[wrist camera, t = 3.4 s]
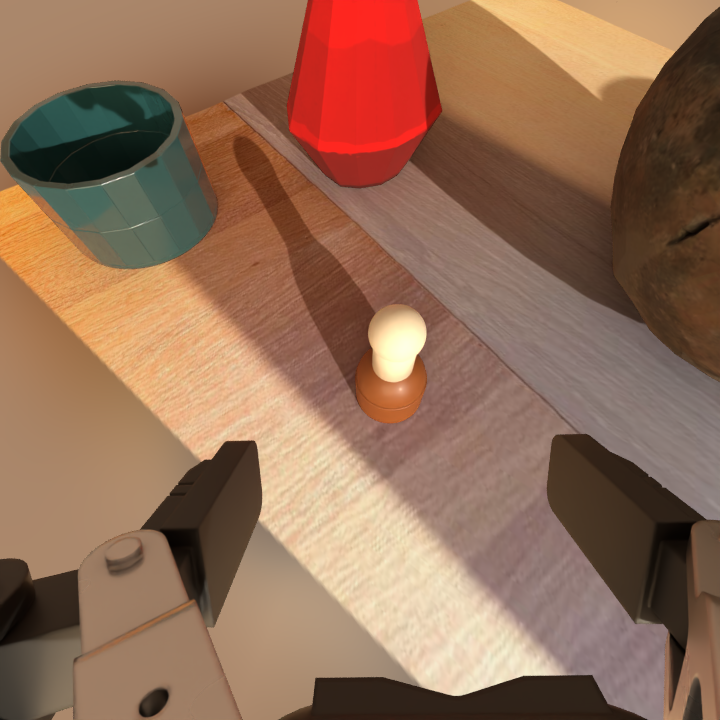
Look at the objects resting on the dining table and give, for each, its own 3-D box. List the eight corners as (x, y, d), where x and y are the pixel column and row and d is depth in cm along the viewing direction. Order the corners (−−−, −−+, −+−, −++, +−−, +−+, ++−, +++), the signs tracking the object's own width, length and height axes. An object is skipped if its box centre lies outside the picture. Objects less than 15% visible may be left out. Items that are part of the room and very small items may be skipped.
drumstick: (387, 437, 29) (398, 378, 20) (342, 389, 31) (332, 314, 21) (435, 394, 31) (466, 320, 21) (389, 351, 32) (400, 265, 23)
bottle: (323, 224, 39) (289, -54, 21) (277, 149, 45) (218, -122, 27) (456, 177, 42) (522, -102, 24) (396, 111, 48) (415, -154, 30)
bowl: (113, 295, 35) (40, 218, 27) (52, 211, 41) (-25, 125, 33) (245, 218, 40) (214, 132, 32) (174, 151, 45) (133, 62, 37)
